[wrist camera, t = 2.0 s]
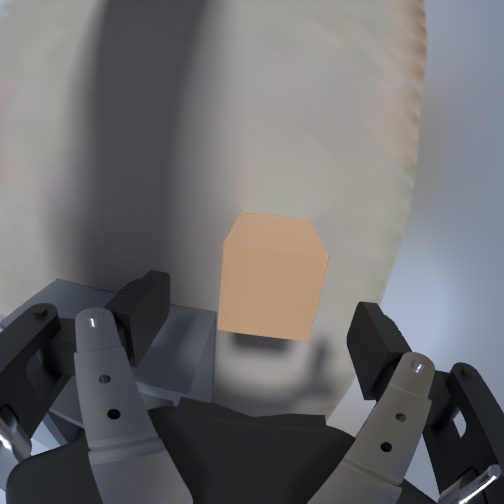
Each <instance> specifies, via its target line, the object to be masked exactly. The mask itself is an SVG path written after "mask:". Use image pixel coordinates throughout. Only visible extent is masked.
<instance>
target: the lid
mask: <svg viewBox="0 0 504 504" xmlns="http://www.w3.org/2000/svg"><path fill="white" fill-rule="evenodd" d="M3 330H4V329H2V328H0V332H2V331H3ZM32 438H34V439H35V440H37V441H38V442H40V443H41V444H43V445H44V446H46V447H48V448H49V449H54V448H57V447H60V446H62V445H65V444H68V442H67V441H66V440H65V438H64V437H63V435H62V434H61V433H60V431H59V430H58V428H57V427H56V425H55V424H54V422H53V421H52V419H51V417H50V416H49V414H48V413H47V414H46V415H45V417H44V418H43V420H42V421H41V423H40V425H39V426H38V428H37V429H36V431H35V433H34V434H33V436H32Z"/></svg>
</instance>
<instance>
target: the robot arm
mask: <svg viewBox="0 0 504 504" xmlns="http://www.w3.org/2000/svg"><path fill="white" fill-rule="evenodd" d="M169 309H170V277H169V274H168V273H165V272H159V271H154V270H151V271H150V272H149V273H147V274H146V275H145V276H144V277H143V278H142V279H137V280H135V281H132V282H130V283H128V284H127V285H126V286H125V287H124V288H123V290H121V291H120V292H119V293H118V295H115V296H114V297H113V298H112V299H111V300H110V301H109V302H108V303H107V304H106V305H105V306H104V307H103V308H100V307H93V308H88V309H85V310H83V311H81V312H80V313H78V314H77V316H76V318H75V319H71V318H60V317H59V315H58V311H57V308H56V307H55V306H54V305H53V304H50V303H39V304H35V305H33V306H31V307H29V308H28V309H27V310H26V311H24V312H23V313H22V314H21V315H20V316H19V317H17V318H16V319H15V320H14V321H13V322H12V323H11V324H9V325H8V326H7V327H6V328H5V329H4V330H3V331H2V332H0V488H1V489H2V490H3V491H5V492H6V504H504V413H503V411H502V410H501V408H500V406H499V404H498V403H497V401H496V400H495V398H494V396H493V394H492V393H491V391H490V390H489V388H488V386H487V385H486V383H485V382H484V380H483V379H482V377H481V376H480V374H479V373H478V371H477V370H476V369H475V368H474V367H472V366H471V365H469V364H466V363H461V362H459V363H456V364H454V365H453V367H452V369H451V371H450V372H449V373H447V372H442V371H437V370H435V366H434V364H433V362H432V361H431V360H430V359H429V358H428V357H426V356H425V355H423V354H420V353H417V352H412V350H411V348H410V347H409V345H408V344H407V342H406V340H405V339H404V337H403V336H402V334H401V332H400V331H399V330H398V328H397V326H396V325H395V323H394V322H393V321H392V320H391V319H390V318H389V317H387V316H386V315H384V314H383V312H382V311H381V309H380V307H379V306H378V304H377V303H370V302H359V303H358V305H357V307H356V310H355V313H354V316H353V319H352V322H351V325H350V328H349V331H348V334H347V347H348V350H349V353H350V356H351V359H352V362H353V365H354V368H355V372H356V375H357V378H358V381H359V384H360V387H361V391H362V394H363V397H364V400H376V402H377V403H376V405H375V406H374V408H373V409H372V411H371V413H370V414H369V416H368V418H367V419H366V421H365V422H364V424H363V426H362V427H361V429H360V430H359V432H358V433H357V435H356V436H355V438H354V437H353V436H351V435H349V434H348V433H346V432H344V431H342V430H339V429H337V428H334V427H330V426H327V425H326V421H325V415H306V414H283V415H273V416H262V417H251V416H248V415H245V414H242V413H239V412H236V411H233V410H231V409H228V408H225V407H223V406H220V405H217V404H213V403H208V402H203V401H198V400H193V399H189V398H185V397H181V398H180V401H179V404H178V406H165V407H157V408H152V409H148V410H146V407H145V405H144V402H143V400H142V397H141V395H140V392H139V389H138V387H137V384H136V381H135V379H134V376H133V373H132V370H131V367H135V368H137V366H138V365H139V363H140V362H141V360H142V358H143V357H144V355H145V353H146V352H147V350H148V349H149V347H150V345H151V344H152V342H153V340H154V339H155V337H156V336H157V334H158V333H159V331H160V329H161V328H162V326H163V325H164V323H165V321H166V320H167V318H168V314H169ZM36 352H37V355H38V358H39V362H38V363H37V364H36V365H35V366H34V367H33V369H32V370H31V371H30V372H29V373H28V375H26V366H27V363H28V361H29V360H30V359H31V358H32V357H33V356H34V355H35V353H36ZM130 366H131V367H130ZM72 375H73V376H76V381H77V389H78V396H79V402H80V408H81V414H82V419H83V424H84V429H85V433H86V437H83V438H81V439H78V440H76V441H73V442H70V443H68V444H65V445H62V446H60V447H57V448H54V449H51V450H49V451H46V452H43V453H40V454H37V455H34V456H31V450H32V444H31V440H30V439H31V438H32V436H33V434H34V433H35V431H36V429H37V428H38V426H39V425H40V423H41V421H42V420H43V418H44V417H45V415H46V414H47V412H48V410H49V409H50V407H51V406H52V404H53V403H54V401H55V400H56V398H57V397H58V395H59V394H60V392H61V391H62V389H63V388H64V386H65V385H66V384H67V382H68V381H69V379H70V378H71V376H72ZM459 411H461V413H462V415H463V417H464V419H465V421H466V431H465V433H464V435H463V436H462V437H461V438H460V435H459V433H458V430H457V428H456V426H455V424H454V421H453V419H454V418H455V417H456V415H457V414H458V413H459ZM422 434H423V438H424V441H425V444H426V447H427V450H428V453H429V457H430V460H431V463H432V467H433V471H434V474H435V478H436V482H437V486H438V490H439V494H440V497H439V499H438V503H437V502H435V501H434V500H432V499H431V498H430V497H428V496H427V495H425V494H424V493H423V492H422V491H420V490H419V489H417V488H416V487H415V486H414V485H412V484H411V483H410V482H408V481H407V480H406V479H404V476H405V474H406V472H407V470H408V467H409V465H410V463H411V460H412V458H413V456H414V453H415V451H416V448H417V446H418V443H419V440H420V437H421V435H422Z"/></svg>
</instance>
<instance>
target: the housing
mask: <svg viewBox="0 0 504 504" xmlns="http://www.w3.org/2000/svg"><path fill="white" fill-rule="evenodd" d="M115 295H118V294H117V293H113V292H108V291H104V290H100V289H96V288H92V287H88V286H84V285H80V284H76V283H72V282H68V281H64V280H61V279H56V280H55V281H54V282H52V283H51V284H49V285H48V286H47V287H45V288H44V289H43V290H41V291H40V292H38V293H37V294H36V295H34V296H33V297H32V298H30V299H29V300H28V301H26V302H25V303H24V304H23V305H21V306H20V307H19V308H17V309H16V310H15V311H14V312H12V313H11V314H10V315H9V316H7V317H6V318H5V319H4V320H3V321H1V322H0V327H1V328H2V329H5V328H6V327H7V326H8V325H9V324H11V323H12V322H13V321H14V320H15V319H16V318H17V317H19V316H20V315H21V314H22V313H23V312H24V311H26V310H27V309H28V308H29V307H31V306H33V305H35V304H39V303H50V304H53V305H54V306H55V307H56V308H57V311H58V315H59V317H60V318H71V319H75V318H76V316H77V314H78V313H80V312H81V311H83V310H85V309H88V308H93V307H100V308H103V307H104V306H105V305H106V304H107V303H108V302H109V301H110V300H111V299H112V298H113V297H114V296H115ZM216 313H217V312H211V311H205V310H199V309H193V308H187V307H181V306H176V305H170V309H169V314H168V318H167V320H166V321H165V323H164V325H163V326H162V328H161V329H160V331H159V333H158V334H157V336H156V337H155V339H154V340H153V342H152V344H151V345H150V347H149V349H148V350H147V352H146V353H145V355H144V357H143V358H142V360H141V362H140V363H139V365H138V366H137V368H135V367H131V366H130V367H131V370H132V373H133V376H134V379H135V381H136V384H137V387H138V389H139V392H140V395H141V397H142V400H143V402H144V405H145V407H146V410H148V409H152V408H157V407H165V406H178V404H179V401H180V398H181V397H185V398H189V399H193V400H198V401H203V402H208V403H212V399H213V371H214V349H215V330H216ZM38 362H39V358H38V355H37V352H36V353H35V355H34V356H33V357H32V358H31V359H30V360H29V361H28V363H27V366H26V375H28V373H29V372H30V371H31V370H32V369H33V367H34V366H35V365H36V364H37V363H38ZM47 413H48V414H49V416H50V417H51V419H52V421H53V422H54V424H55V425H56V427H57V428H58V430H59V431H60V433H61V434H62V435H63V437H64V438H65V440H66V441H67V442H68V443H70V442H73V441H76V440H78V439H81V438H83V437H86V433H85V429H84V424H83V419H82V414H81V408H80V402H79V396H78V389H77V381H76V376H73V375H72V376H71V378H70V379H69V381H68V382H67V384H66V385H65V386H64V388H63V389H62V391H61V392H60V394H59V395H58V397H57V398H56V400H55V401H54V403H53V404H52V406H51V407H50V409H49V410H48V412H47Z"/></svg>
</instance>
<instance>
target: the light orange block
mask: <svg viewBox="0 0 504 504" xmlns="http://www.w3.org/2000/svg"><path fill="white" fill-rule="evenodd" d="M328 258H329V256H328V254H327V252H326V250H325V248H324V246H323V244H322V243H321V241H320V239H319V237H318V235H317V233H316V231H315V229H314V227H313V226H312V224H311V222H310V221H309V220H303V219H296V218H289V217H281V216H274V215H266V214H259V213H251V212H243V211H241V213H240V215H239V217H238V218H237V220H236V222H235V224H234V225H233V227H232V229H231V231H230V232H229V234H228V236H227V238H226V239H225V241H224V244H223V257H222V269H221V283H220V297H219V312H218V328H217V330H222V331H229V332H235V333H242V334H250V335H257V336H265V337H273V338H282V339H292V340H302V341H308V339H309V335H310V331H311V328H312V324H313V320H314V317H315V313H316V309H317V305H318V301H319V297H320V293H321V289H322V285H323V280H324V276H325V272H326V267H327V263H328Z"/></svg>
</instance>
